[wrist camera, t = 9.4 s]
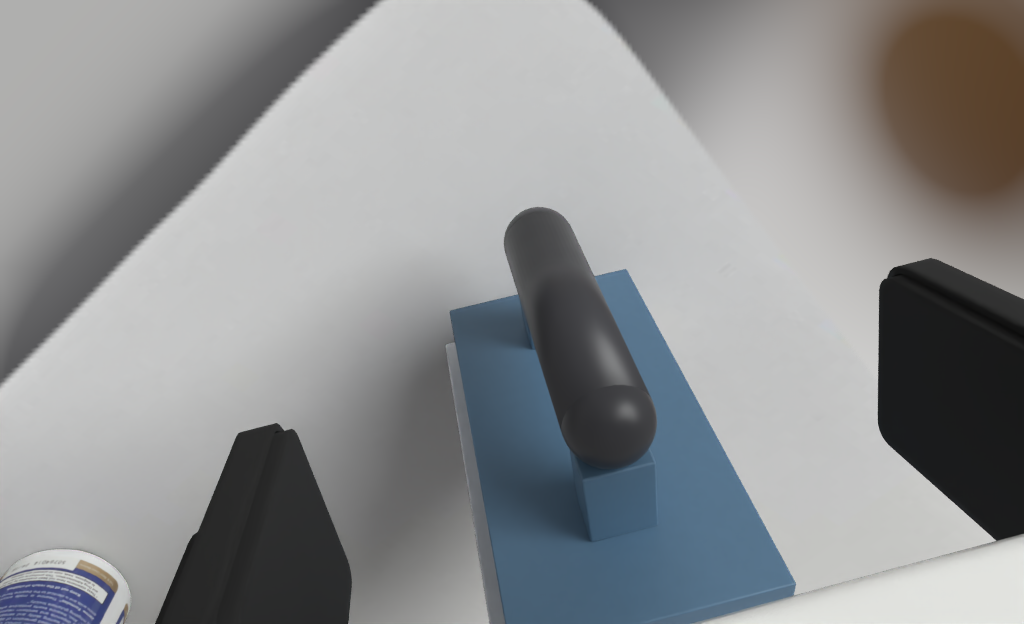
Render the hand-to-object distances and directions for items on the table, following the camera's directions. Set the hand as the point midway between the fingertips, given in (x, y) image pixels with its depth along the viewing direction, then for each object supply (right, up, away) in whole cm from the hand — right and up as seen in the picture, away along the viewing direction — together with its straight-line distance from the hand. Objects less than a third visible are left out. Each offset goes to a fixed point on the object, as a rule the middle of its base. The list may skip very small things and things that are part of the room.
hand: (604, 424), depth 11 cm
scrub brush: (+1, -5, +13) cm, 14 cm away
